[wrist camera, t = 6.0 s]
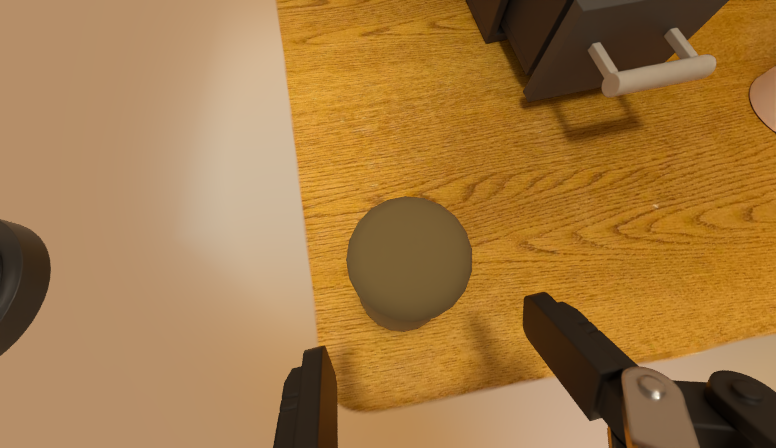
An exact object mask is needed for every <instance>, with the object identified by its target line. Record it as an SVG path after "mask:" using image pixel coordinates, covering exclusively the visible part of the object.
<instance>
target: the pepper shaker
mask: <svg viewBox="0 0 776 448" xmlns="http://www.w3.org/2000/svg"><path fill="white" fill-rule="evenodd" d="M346 261H347V267H348V273H349V278H350V281H351V283H352V285H353V286H354V288H355V290H356V292H357V294H358V296H359V297H360V299H361V303H362V305H363V307H364V309H365V311H366V313H367V314H368V316H370V317H371V318H372V319H373V320H374V321H375V322H376V323H377V324H378V325H380V326H383V327H385V328H387V329H389V330H394V331H403V332H404V331H409V330H413V329H417V328H419V327H421V326H422V325H424V324H425V323H427V322H429V321H430V319H432V318H435V317H437V316H439V315H440V314H442V313H443V312H445V311H446V310H448V309H450V308H451V307H453V305H454V304H455V303H456V302H457V300H458V299H459V298H460V297H461V295H462V294H463V293H464V292H465V289H466V287H467V284H468V281H469V278H470V275H471V272H472V248H471V245H470V242H469V239H468V236H467V233H466V231H465V229H464V228H463V226H462V225H461V224H460V222H459V221H458V219H457V218H456V217H455V216H454V215H453V214H452V213H450V212H449V211H448V210H447V209H445V208H444V207H443V206H441V205H440V204H437V203H435V202H432V201H430V200H427V199H425V198H417V197H406V196H405V197H400V198H395V199H390V200H387V201H385V202H383V203H381V204H379V205H377V206H375V207H374V208H372V209H371V210H370V211H369V212H368V213H367V214H366V215H365V216H364V217H363V218H362V219H361V220H360V221H359V222H358V224H357V226H356V228H355V230H354V232H353V234H352V236H351V238H350V240H349V245H348V252H347V259H346Z"/></svg>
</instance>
